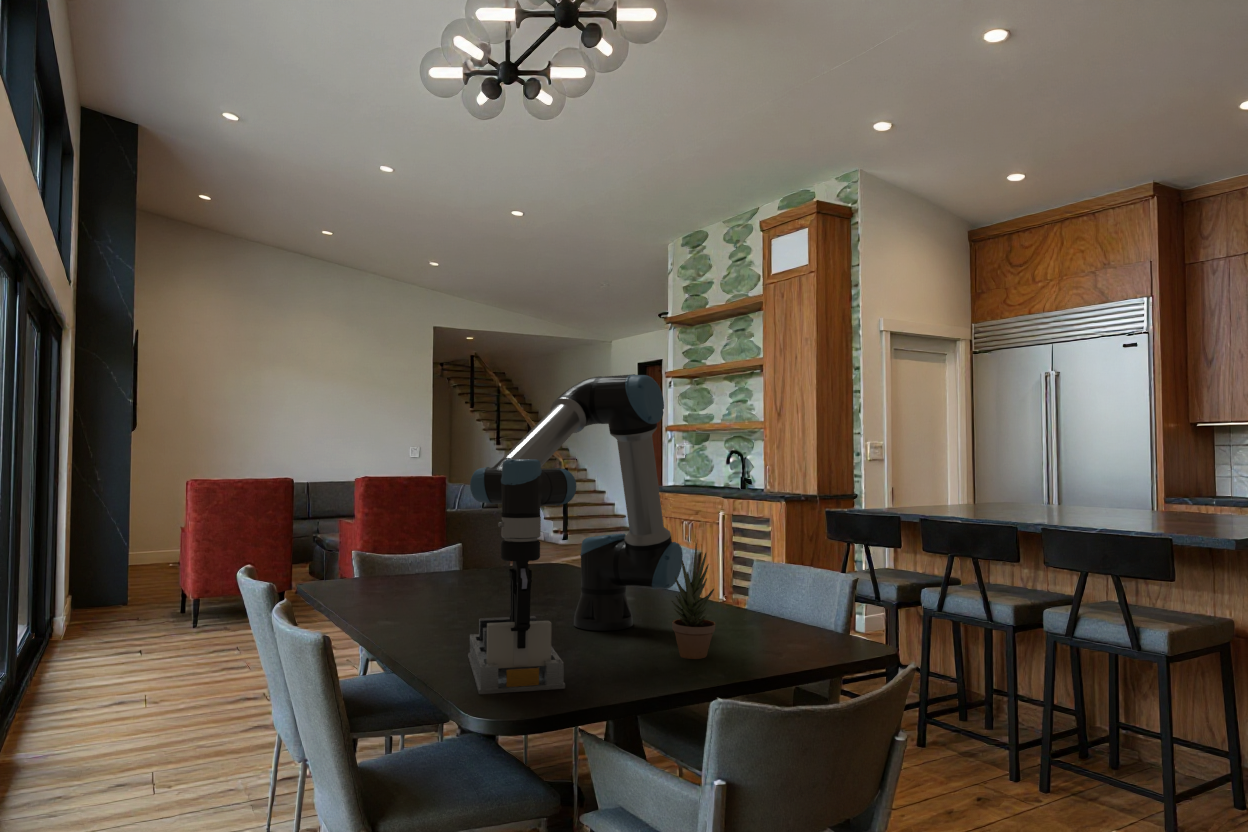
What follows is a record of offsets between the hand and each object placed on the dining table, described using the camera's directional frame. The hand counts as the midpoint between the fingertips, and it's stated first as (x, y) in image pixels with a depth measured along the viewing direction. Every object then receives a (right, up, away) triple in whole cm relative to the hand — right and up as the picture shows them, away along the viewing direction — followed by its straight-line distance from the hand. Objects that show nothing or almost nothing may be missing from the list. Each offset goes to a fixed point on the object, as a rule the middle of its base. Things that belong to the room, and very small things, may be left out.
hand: (519, 662), depth 159 cm
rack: (-2, -5, +10) cm, 11 cm away
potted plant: (+35, -6, +23) cm, 43 cm away
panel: (0, -1, 0) cm, 1 cm away
